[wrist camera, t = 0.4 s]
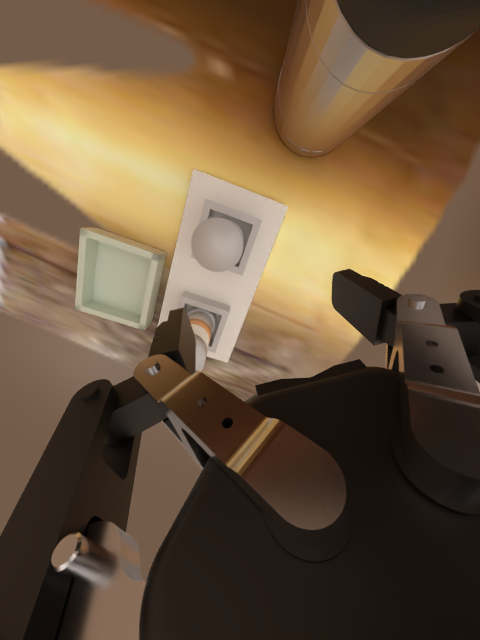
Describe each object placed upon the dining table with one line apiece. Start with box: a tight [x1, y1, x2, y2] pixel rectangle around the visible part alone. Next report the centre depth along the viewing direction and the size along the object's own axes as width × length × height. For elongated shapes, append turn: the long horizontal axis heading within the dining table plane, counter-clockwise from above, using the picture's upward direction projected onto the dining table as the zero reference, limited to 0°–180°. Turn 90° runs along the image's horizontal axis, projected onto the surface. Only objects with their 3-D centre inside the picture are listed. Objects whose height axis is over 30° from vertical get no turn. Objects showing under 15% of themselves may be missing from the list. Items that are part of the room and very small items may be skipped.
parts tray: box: [75, 227, 167, 330], centre depth 31 cm, size 11×10×3 cm
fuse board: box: [158, 169, 288, 363], centre depth 31 cm, size 24×12×4 cm, turn 161°
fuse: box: [191, 217, 244, 272], centre depth 24 cm, size 4×4×11 cm
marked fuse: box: [187, 306, 217, 371], centre depth 29 cm, size 4×4×11 cm
